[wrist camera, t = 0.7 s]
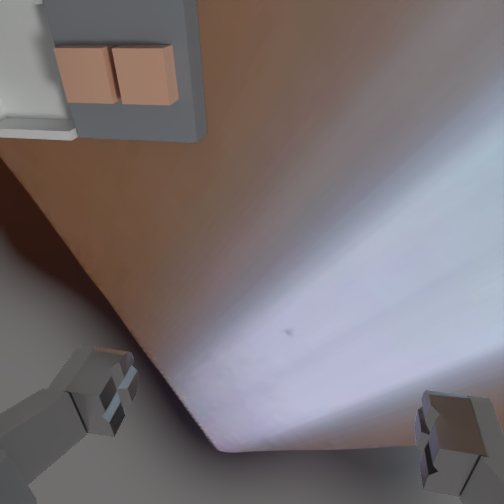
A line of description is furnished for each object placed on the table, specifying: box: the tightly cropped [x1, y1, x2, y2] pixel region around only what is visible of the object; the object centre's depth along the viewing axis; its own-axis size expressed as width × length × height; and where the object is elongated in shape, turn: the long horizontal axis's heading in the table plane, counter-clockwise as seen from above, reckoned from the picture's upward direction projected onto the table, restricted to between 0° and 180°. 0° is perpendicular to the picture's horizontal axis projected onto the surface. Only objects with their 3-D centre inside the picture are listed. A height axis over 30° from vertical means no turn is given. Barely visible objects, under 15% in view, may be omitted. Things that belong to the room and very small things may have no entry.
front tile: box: [112, 45, 179, 105], centre depth 40 cm, size 5×5×2 cm
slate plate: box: [43, 0, 207, 143], centre depth 43 cm, size 14×14×4 cm
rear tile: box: [53, 45, 121, 104], centre depth 41 cm, size 5×5×2 cm
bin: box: [0, 0, 78, 140], centre depth 45 cm, size 14×12×5 cm
